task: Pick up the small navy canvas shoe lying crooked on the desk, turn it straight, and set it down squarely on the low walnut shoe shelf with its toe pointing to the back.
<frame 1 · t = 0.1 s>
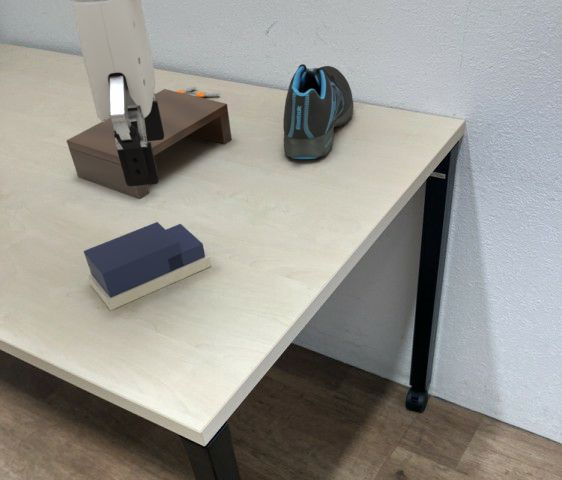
hand: (147, 160, 64), 16 cm above the table, tool pointing down, fingers open, 9 cm apart
shoe shelf: (157, 157, 100), on the table
running shoe: (322, 128, 104), on the table
key chain: (184, 99, 116), on the table
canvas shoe: (151, 275, 77), on the table
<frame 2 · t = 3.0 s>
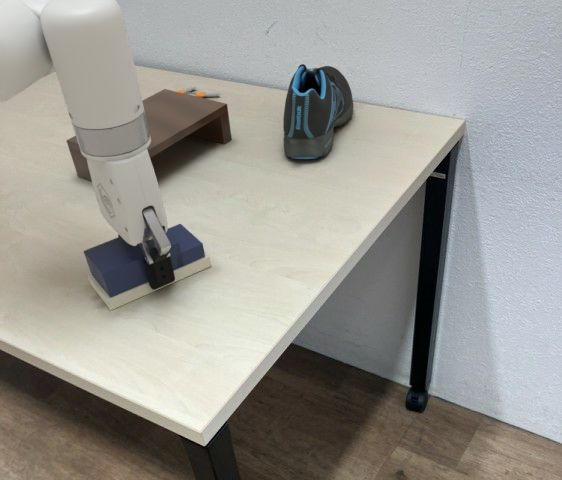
hand: (149, 269, 77), 1 cm above the table, tool pointing down, fingers closed on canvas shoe, 6 cm apart
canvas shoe: (151, 275, 77), on the table, touching gripper
everything else where it was.
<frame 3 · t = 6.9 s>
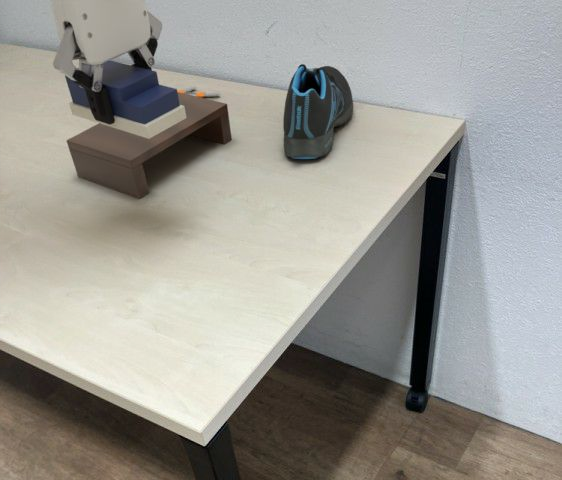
hand: (126, 109, 76), 15 cm above the table, tool pointing down, fingers closed on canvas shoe, 6 cm apart
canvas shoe: (128, 116, 76), point 15 cm above the table, touching gripper
everything else where it was.
when the fingers open (7 cm above the table, at t = 10.9 s): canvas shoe stays where it is, resting on shoe shelf.
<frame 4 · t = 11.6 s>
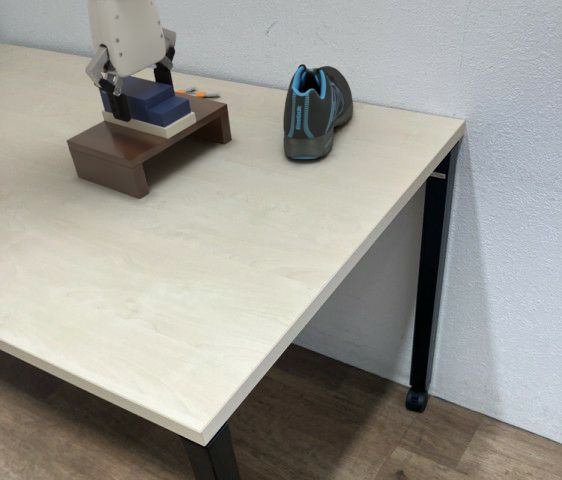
hand: (145, 107, 94), 8 cm above the table, tool pointing down, fingers open, 9 cm apart
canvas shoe: (149, 121, 96), point 6 cm above the table, touching shoe shelf
everything else where it was.
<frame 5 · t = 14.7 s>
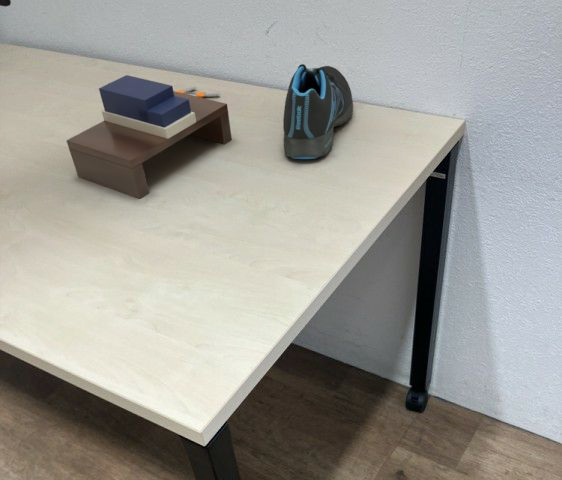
nothing on the table moved.
at the end: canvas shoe inside the target area on the shoe shelf (0.1 cm from its centre), point 6.0 cm above the shoe shelf's base; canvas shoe tilted 0°; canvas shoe moved 33.1 cm from its start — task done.
